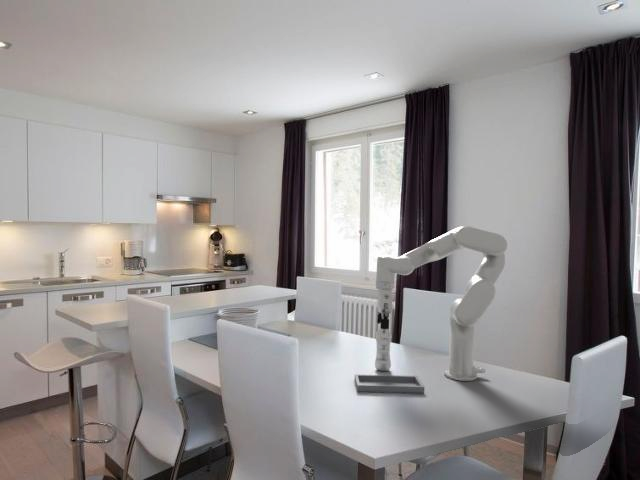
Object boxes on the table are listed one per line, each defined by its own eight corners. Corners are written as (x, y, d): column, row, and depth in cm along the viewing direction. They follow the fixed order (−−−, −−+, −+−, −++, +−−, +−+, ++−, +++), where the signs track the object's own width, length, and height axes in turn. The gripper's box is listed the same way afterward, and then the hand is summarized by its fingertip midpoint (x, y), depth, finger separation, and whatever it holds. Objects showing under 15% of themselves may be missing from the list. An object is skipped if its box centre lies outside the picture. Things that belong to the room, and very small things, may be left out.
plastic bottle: (390, 373, 180) (392, 324, 179) (373, 372, 181) (375, 323, 181) (391, 368, 186) (392, 321, 186) (375, 367, 187) (376, 320, 187)
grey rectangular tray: (416, 382, 170) (416, 375, 170) (424, 394, 158) (424, 386, 158) (354, 381, 170) (354, 374, 169) (357, 392, 158) (357, 385, 157)
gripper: (397, 288, 174) (395, 331, 175) (390, 283, 192) (388, 322, 192) (378, 287, 174) (376, 330, 175) (373, 282, 192) (371, 321, 192)
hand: (382, 326), depth 183 cm, fingers open, 9 cm apart
